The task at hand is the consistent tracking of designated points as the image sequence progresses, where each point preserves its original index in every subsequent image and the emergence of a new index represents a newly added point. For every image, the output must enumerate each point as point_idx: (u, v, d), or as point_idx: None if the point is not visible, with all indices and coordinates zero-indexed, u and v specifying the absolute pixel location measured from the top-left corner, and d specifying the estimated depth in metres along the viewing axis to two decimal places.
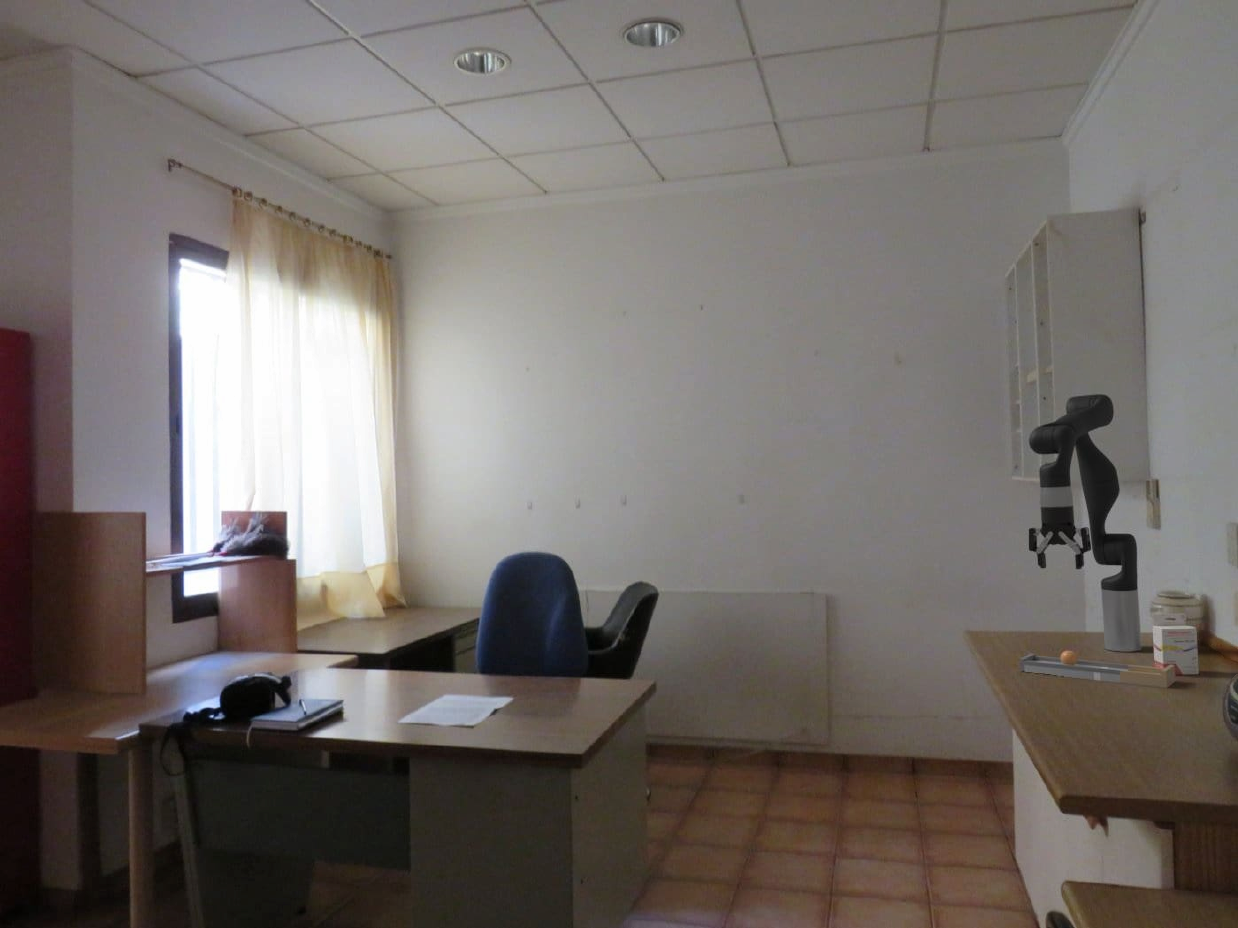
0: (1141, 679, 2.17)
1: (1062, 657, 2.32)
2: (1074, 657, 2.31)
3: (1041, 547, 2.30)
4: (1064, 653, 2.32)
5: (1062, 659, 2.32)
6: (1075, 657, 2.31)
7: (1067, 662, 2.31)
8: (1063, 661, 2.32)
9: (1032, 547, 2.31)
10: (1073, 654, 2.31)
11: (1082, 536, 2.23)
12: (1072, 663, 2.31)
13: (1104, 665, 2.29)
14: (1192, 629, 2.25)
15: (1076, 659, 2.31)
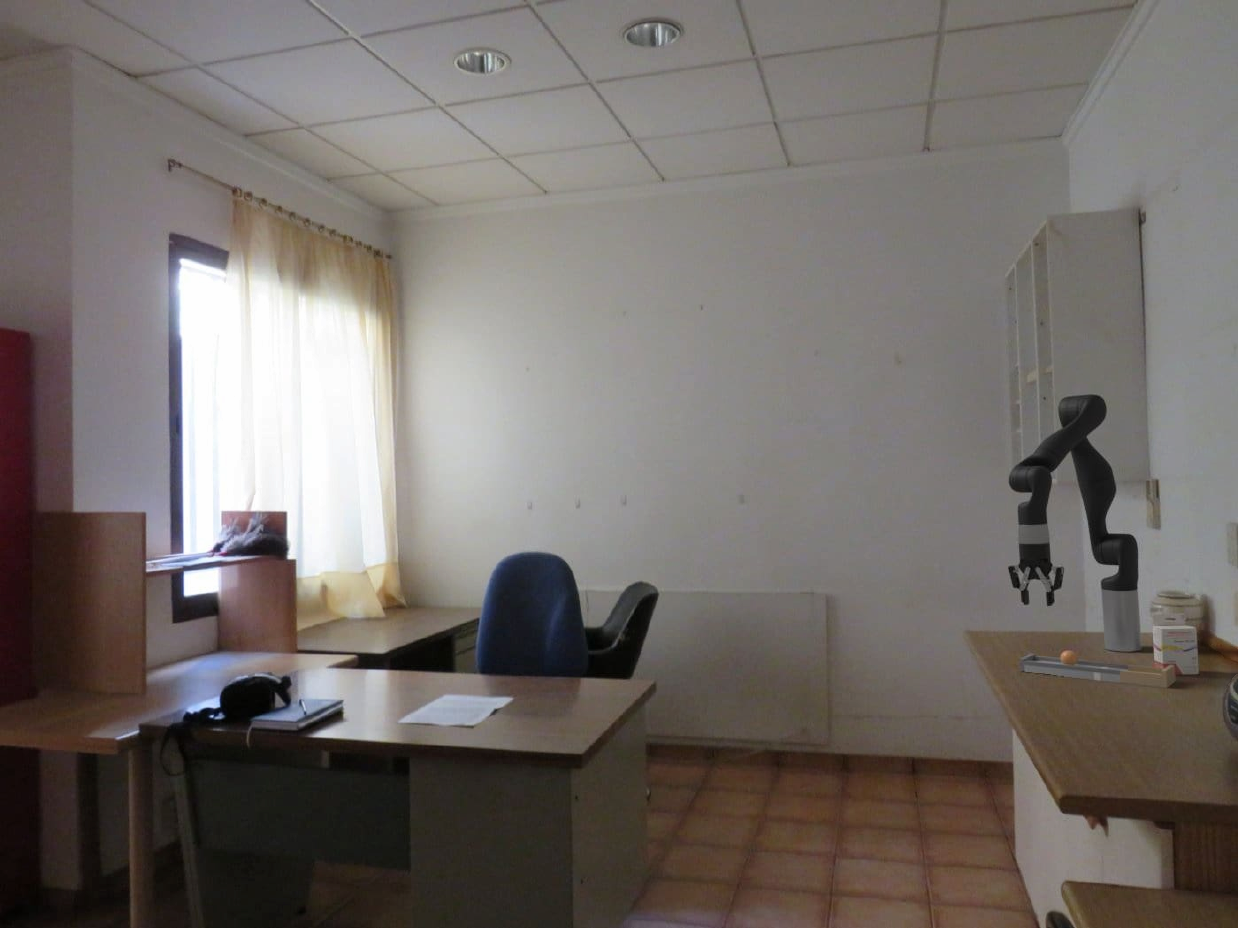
0: (1141, 679, 2.17)
1: (1062, 657, 2.32)
2: (1074, 657, 2.31)
3: (1023, 584, 2.39)
4: (1064, 653, 2.32)
5: (1062, 659, 2.32)
6: (1075, 657, 2.31)
7: (1067, 662, 2.31)
8: (1063, 661, 2.32)
9: (1015, 584, 2.40)
10: (1073, 654, 2.31)
11: (1056, 575, 2.33)
12: (1072, 663, 2.31)
13: (1104, 665, 2.29)
14: (1192, 629, 2.25)
15: (1076, 659, 2.31)
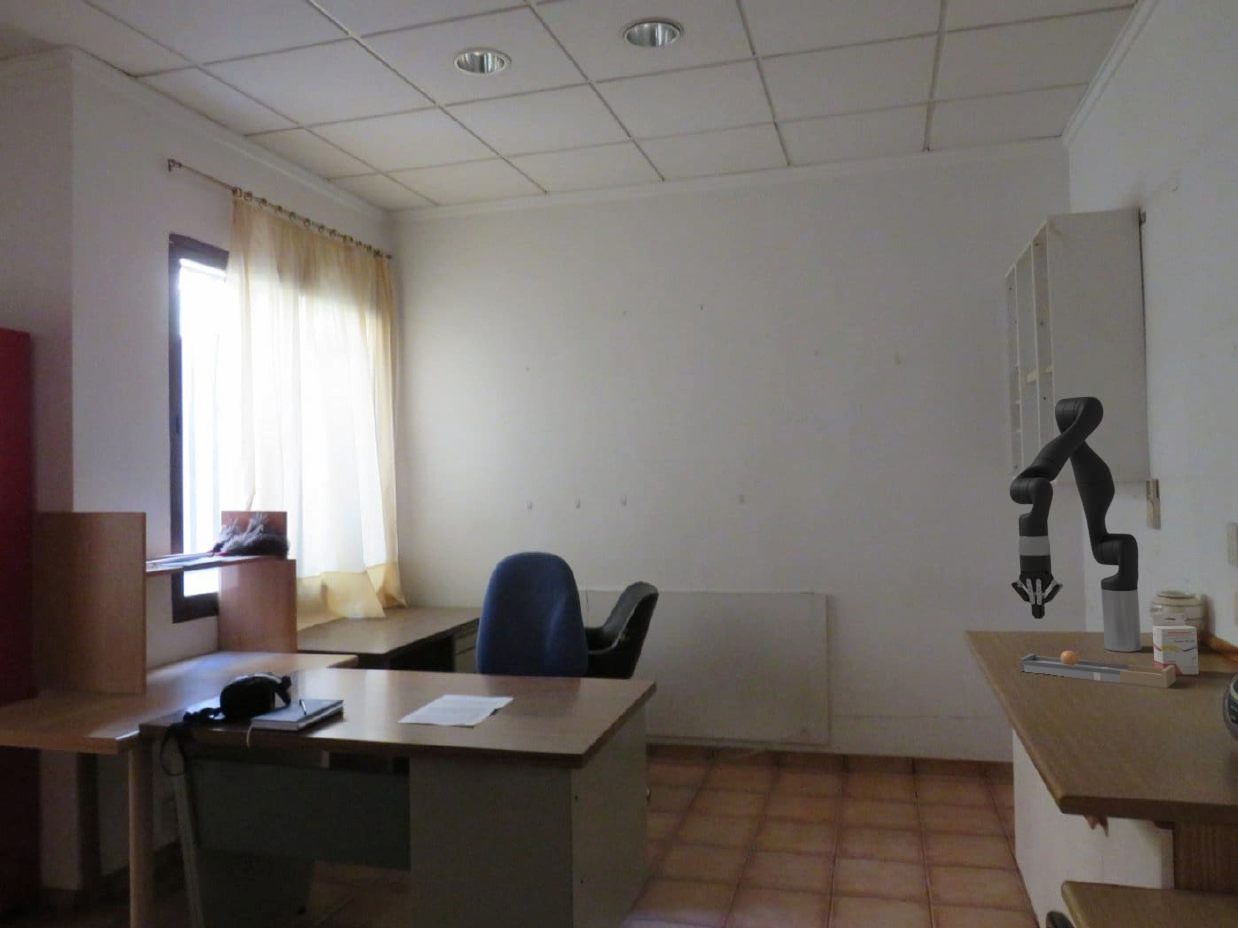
0: (1141, 679, 2.17)
1: (1062, 657, 2.32)
2: (1074, 657, 2.31)
3: (1032, 597, 2.38)
4: (1064, 653, 2.32)
5: (1062, 659, 2.32)
6: (1075, 657, 2.31)
7: (1067, 662, 2.31)
8: (1063, 661, 2.32)
9: (1025, 597, 2.39)
10: (1073, 654, 2.31)
11: (1052, 590, 2.34)
12: (1072, 663, 2.31)
13: (1104, 665, 2.29)
14: (1192, 629, 2.25)
15: (1076, 659, 2.31)
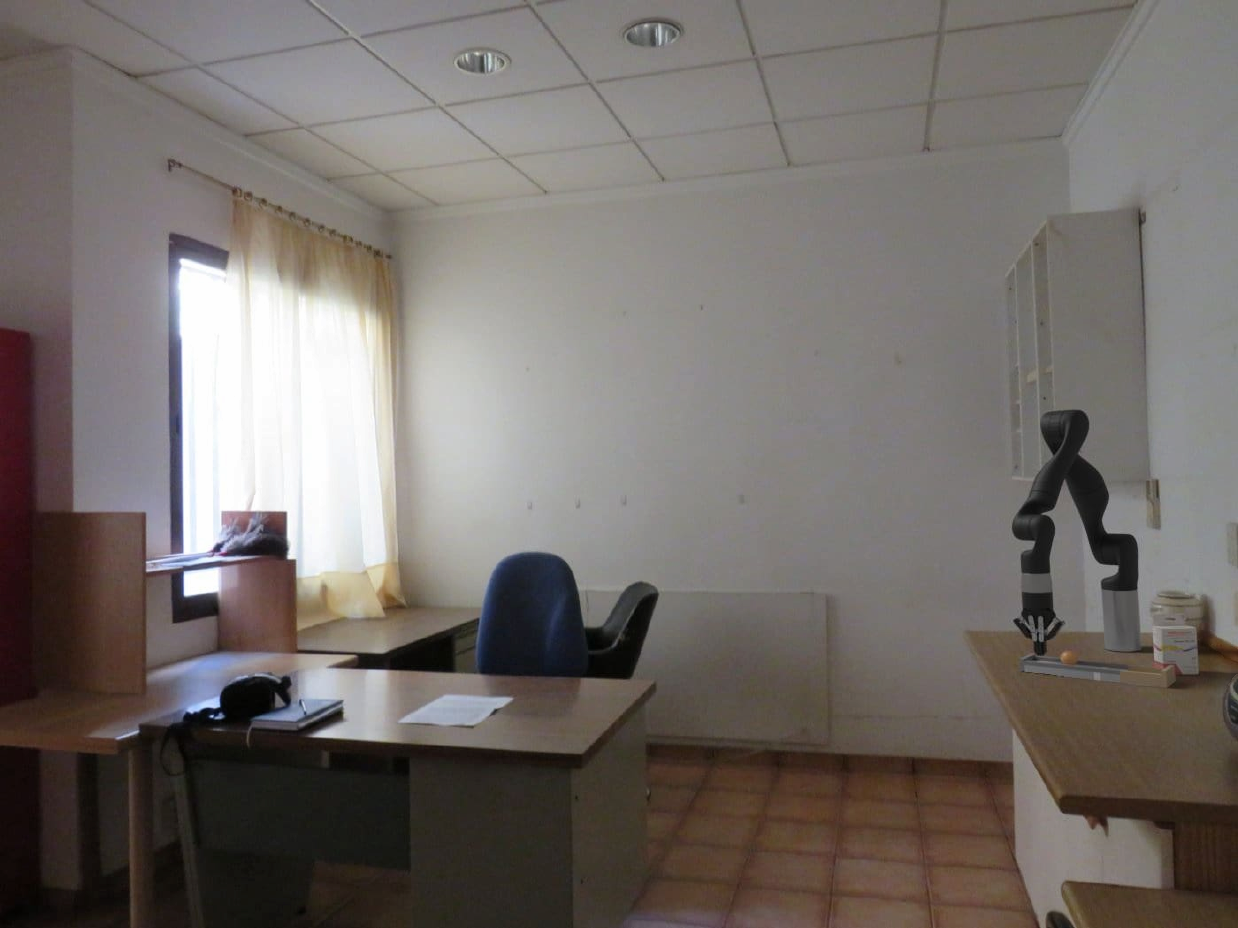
0: (1141, 679, 2.17)
1: (1062, 657, 2.32)
2: (1074, 657, 2.31)
3: (1034, 634, 2.37)
4: (1064, 653, 2.32)
5: (1062, 659, 2.32)
6: (1075, 657, 2.31)
7: (1067, 662, 2.31)
8: (1063, 661, 2.32)
9: (1027, 634, 2.39)
10: (1073, 654, 2.31)
11: (1054, 627, 2.34)
12: (1072, 663, 2.31)
13: (1104, 665, 2.29)
14: (1192, 629, 2.25)
15: (1076, 659, 2.31)
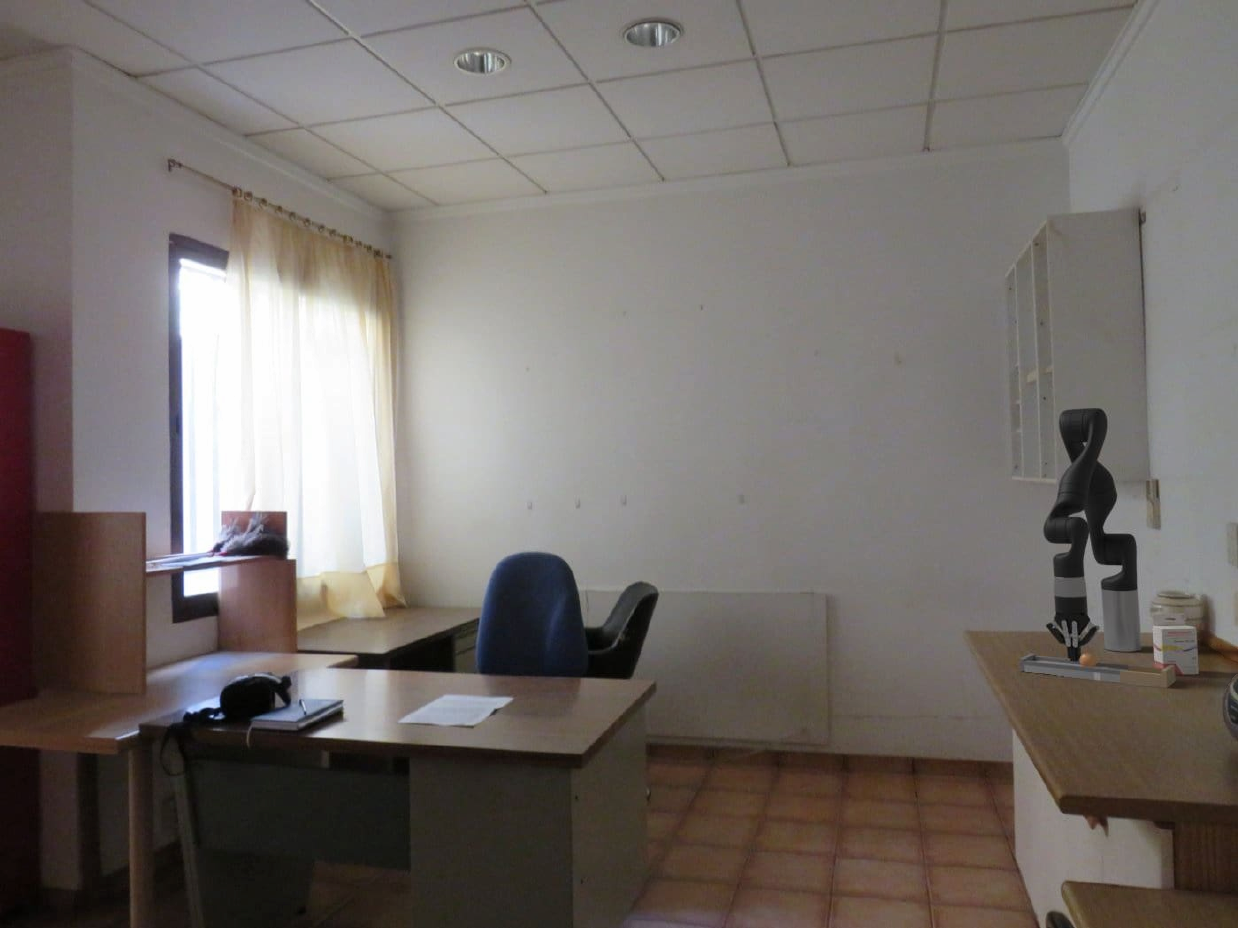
0: (1141, 679, 2.17)
1: (1082, 658, 2.29)
2: (1094, 662, 2.27)
3: (1067, 639, 2.32)
4: (1086, 655, 2.28)
5: (1081, 659, 2.29)
6: (1095, 662, 2.27)
7: (1085, 664, 2.28)
8: (1081, 661, 2.29)
9: (1060, 639, 2.33)
10: (1094, 658, 2.28)
11: (1088, 632, 2.28)
12: None
13: (1104, 665, 2.29)
14: (1192, 629, 2.25)
15: (1095, 664, 2.28)
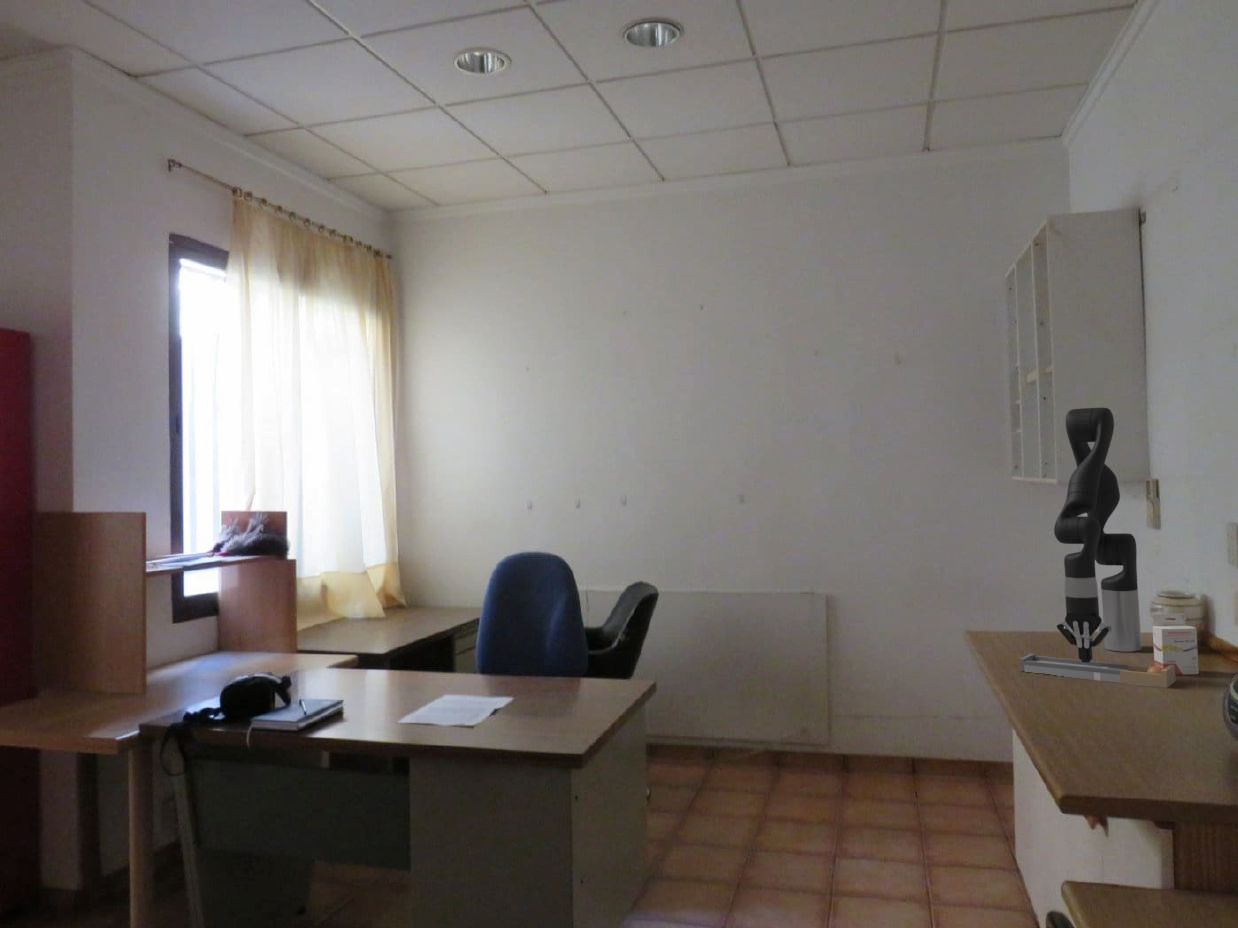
0: (1141, 679, 2.17)
1: (1153, 670, 2.17)
2: None
3: (1078, 640, 2.30)
4: (1158, 670, 2.17)
5: (1150, 671, 2.18)
6: None
7: None
8: None
9: (1072, 640, 2.31)
10: None
11: (1100, 633, 2.26)
12: None
13: (1104, 665, 2.29)
14: (1192, 629, 2.25)
15: None
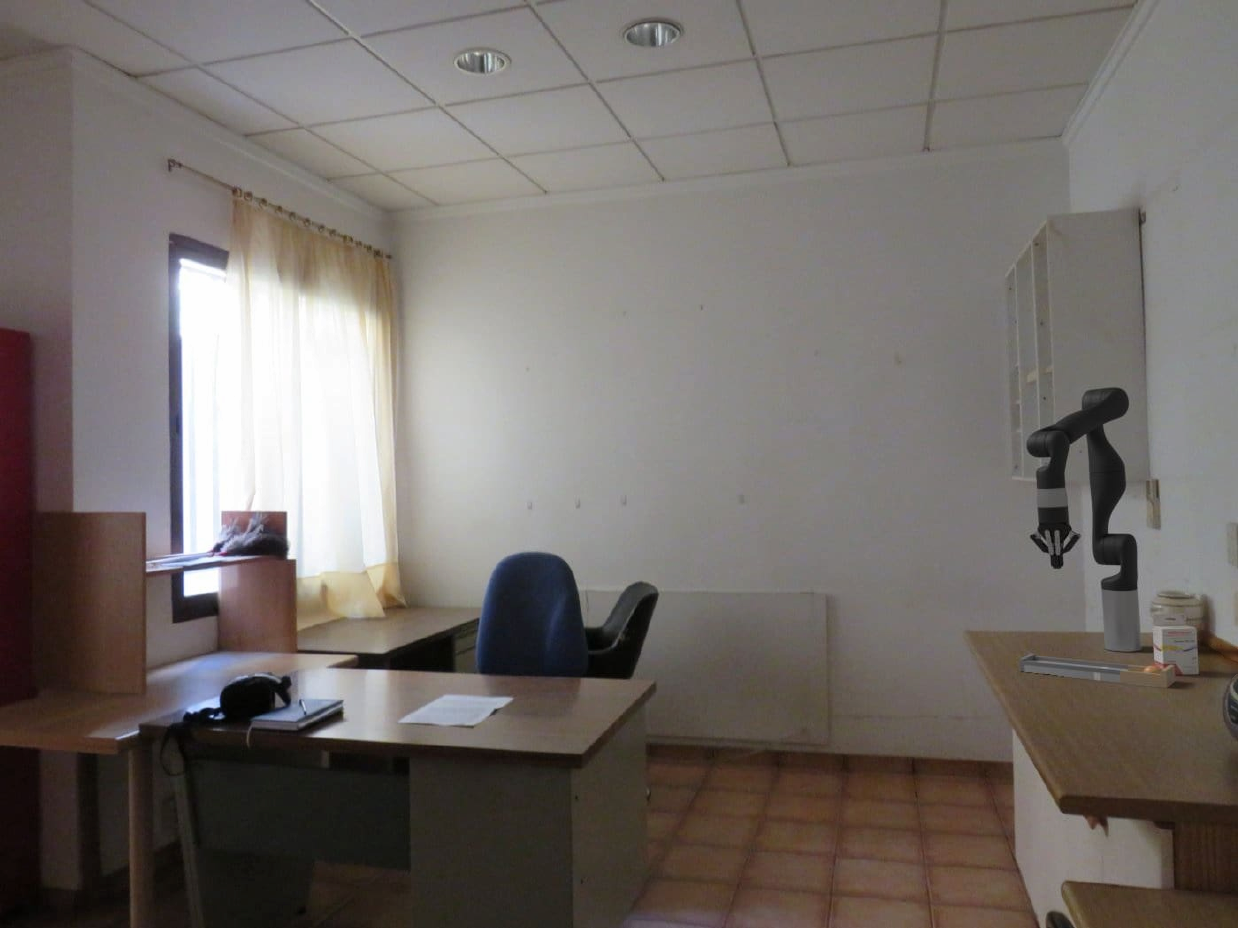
0: (1141, 679, 2.17)
1: (1147, 671, 2.18)
2: None
3: (1050, 548, 2.43)
4: (1152, 669, 2.18)
5: (1146, 672, 2.18)
6: None
7: None
8: None
9: (1044, 548, 2.44)
10: None
11: (1070, 540, 2.39)
12: None
13: (1104, 665, 2.29)
14: (1192, 629, 2.25)
15: None
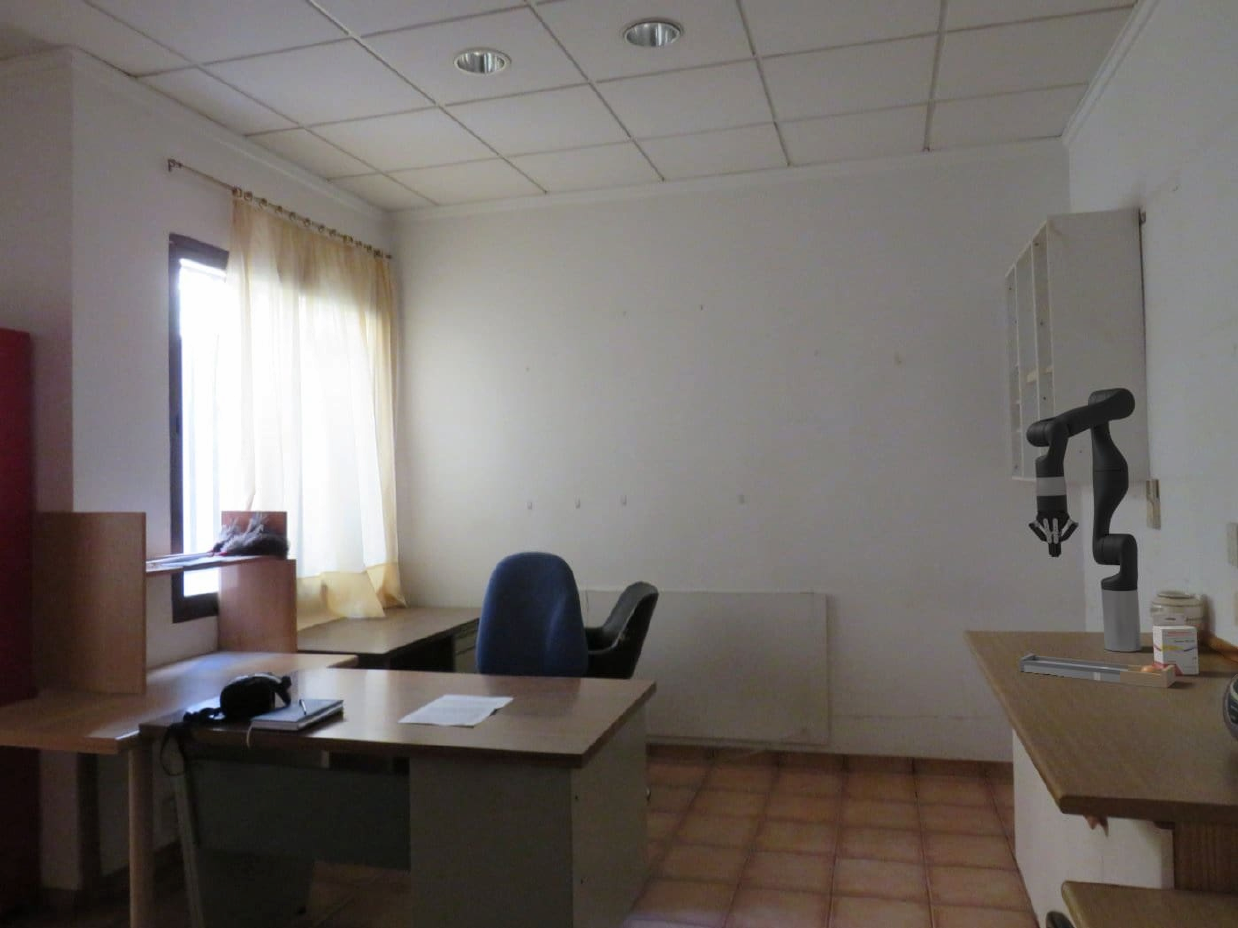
0: (1141, 679, 2.17)
1: (1144, 671, 2.19)
2: None
3: (1048, 536, 2.46)
4: (1148, 668, 2.19)
5: None
6: None
7: None
8: None
9: (1042, 537, 2.47)
10: (1157, 672, 2.18)
11: (1068, 528, 2.42)
12: None
13: (1104, 665, 2.29)
14: (1192, 629, 2.25)
15: None
